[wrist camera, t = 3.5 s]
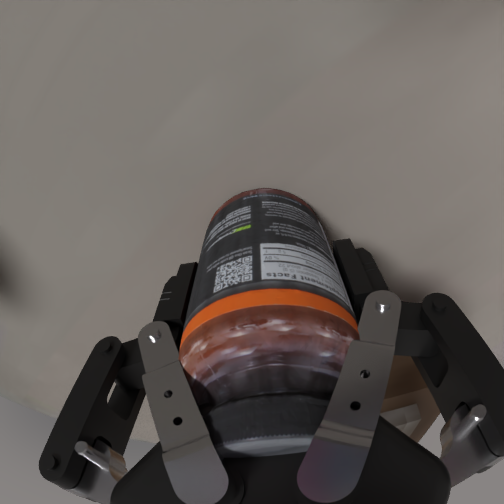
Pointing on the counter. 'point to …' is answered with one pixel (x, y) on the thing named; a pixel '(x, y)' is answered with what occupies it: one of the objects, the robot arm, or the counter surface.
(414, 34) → the counter surface
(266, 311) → the supplement bottle
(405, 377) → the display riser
